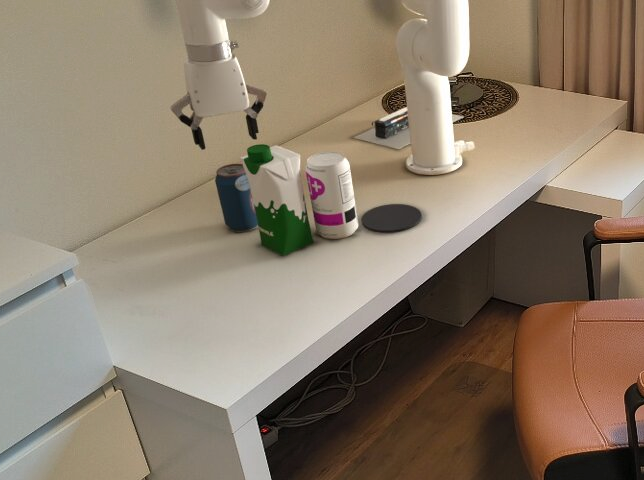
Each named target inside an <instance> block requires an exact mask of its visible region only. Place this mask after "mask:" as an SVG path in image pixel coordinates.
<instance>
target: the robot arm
mask: <svg viewBox="0 0 644 480" xmlns="http://www.w3.org/2000/svg"><path fill="white" fill-rule="evenodd" d="M400 2H401V4H402V5H403V7H404V8H405V9H407V10H408V11H410V12H412V13H414V14H417V15H420V16H423V17H425V18H426V19H425V18H413V19H409V20H407V21H406V22H405V23H403V24H402V25H401V27H399V29H398V32H397V35H396V38H395V39H396V40H395V46H396V53H397V58H398V61H399V64H400V69H401V72H402V77H403V82H404V91H405V101H406V102H405V103H406V107H407V111H408V121H409V130H410V139H411V143H410V145H411V146H410V149H411V155H409V156H408V157H407V158H406V159H405V167H406V168H407V170H409V171H410V172H412V173H414V174H418V175H423V176H437V175H438V176H439V175H443V174H449V173H452V172H453V171H456V170H458V169H459V168H460V167H462V165H463V156H462V155H463V152H464V153H465V152H469V151H473V150H475V148H476V147H475V143H474V141H473V140H472V141H471V140H470V141H467V142H465V141H464V140H463V139H461V140H458V141H455V140H454V139H455V137H454V125H453V123H452V114H453V112H452V101H451V87H450V82H449V77H450V78H451V77H455V76H457V75H459V74H460V73H461V72H462V71H463V70H464V68H465V67H466V65H467V63H468V60H469V55H470V15H469V11H470V9H469V0H400ZM175 4H176V9H177V14H178V18H179V22H180V27H181V32H182V37H183V41H184V46H185V50H186V54H187V58H186V59H184V60H183V69H184V70H183V72H184V73H183V74H184V81H185V89H186V94H185V95H183V96H182V97H181V98H179V99H178V100H177V101H175V102H174V103H173V104H171V105H170V110H171V112H172V113H173V114H174V115H175V116H176V117H177V119H178V120H179V121H180V122H181V123H183V124H184V125H186V126H187V127H189V128H190V129H191V133H192V138H193V142H194V144H195V146H197V145H198V147H199V148H200V149H201V150H202V151H204V150H205V149H206V143H205V139H204V134H203V129H202V128H201V127H200V124H201V123H202V121H203V119H204V118H213V117H217V116H222V115H229V114H233V113H238V112H239V113H240V112H242V111H243V112H244V113H246V115H245V121H246V122H245V123H246V127H247V133H248V135H249V137H250V138H251V139H252V140H258V136H257V134H259V127H258V121H257V118H258V116H259V114H260V112H261V111H262V109H263V108H264V104H265V101H266V98H267V91H265V90H264V89H261V88H258V87H255V86H251V85H249V84H246V82H245V78H244V75H243V72H242V69H241V66H240V63H239V61H238V58H237V56H236V54H235V53H233V51H234V50H235V49H238V48H239V47H240V46H239V42H238V40H237V39H235V40H233V39H230V37H229V31H228V28H227V23H226V20H229V19H230V20H231V19H252V18H256V17H258V16H260V15H262V14H263V13H264V12H265V11H266V10H267V9H268V7H269V4H270V0H175ZM249 95H252V96H255V97H256V99H255V101H254V102H253V104H252V105H251V106H250V99H249ZM188 105H189V108H190V110H191V111H192V113H191V114H190V117H189V116H187V115H186V114H184V112H183V109H185V108H186V107H187V106H188Z"/></svg>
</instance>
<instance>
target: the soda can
mask: <svg viewBox="0 0 644 480" xmlns="http://www.w3.org/2000/svg"><path fill="white" fill-rule="evenodd" d="M215 173H216V175H215V179H214V182H215V183H214V184H215V186H216V191H217V195H218V200H219V204H220V208H221V212H222V216H223V221H224V224H225V225H226V226H227V228H229V229H230V231H232V232H235V233H246V232H250V231H253V230H255V229H256V228H258V222H257V217H256V213H255V208H254V203H253V199H252V194H251V189H250V185H249V181H248V178H247V175H246V172H245V170H244V167H243V164H242V163H230V164H225V165H223V166H220V167H218V169H217V170H216V172H215Z"/></svg>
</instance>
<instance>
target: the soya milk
mask: <svg viewBox="0 0 644 480" xmlns="http://www.w3.org/2000/svg"><path fill="white" fill-rule="evenodd" d="M246 152H247V154H246V155H243V156H241V157H240V158H239V159H240V162H241V164H243V167H244V170H245V172H246V175H247V178H248V181H249V185H250V189H251V194H252V199H253V203H254V208H255V213H256V217H257V222H258V226H257V228H258V231H259V232H258V233H259V238H260V243H261V246H262V247H264V248H266V249H268V250H270V251H272V252H274V253H276V254H278V255H280V256H282V257H284V256H287V255H289V254H291V253H293V252H295V251H299V250H300V249H302V248H304V247H307V246H309V245H311V244H313V243H314V238H313V233H312V229H311V225H310V219H309V214H308V209H307V203H306V199H305V193H304V186H303V181H302V175H301V154H299V153H297V152H294V151H292V150H289V149H287V148H285V147H282V146H279V145H277V144H275V145H273V146H270V145H268V144H263V143H261V144H259V143H258V144H254V145H250V146H248V148H247V149H246Z"/></svg>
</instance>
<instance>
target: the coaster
mask: <svg viewBox="0 0 644 480" xmlns="http://www.w3.org/2000/svg"><path fill="white" fill-rule="evenodd" d="M422 218H423V214H422V212H421V210H420V209H418V208H417V207H415V206H413V205H409V204H404V203H392V204H391V203H390V204H384V205H379V206H376V207H372V208H371V209H369V210H367V211H366V212H364V213H363V214H362V216H361V218H360V220H361V225H362V227H364V228H365V229H366V230H368V231H371V232H375V233H383V234H385V233H386V234H389V233H399V232H403V231H406V230H409V229H411V228H414V227H415V226H417V225H418V224H419V223H420V222H421V221H422Z"/></svg>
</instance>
